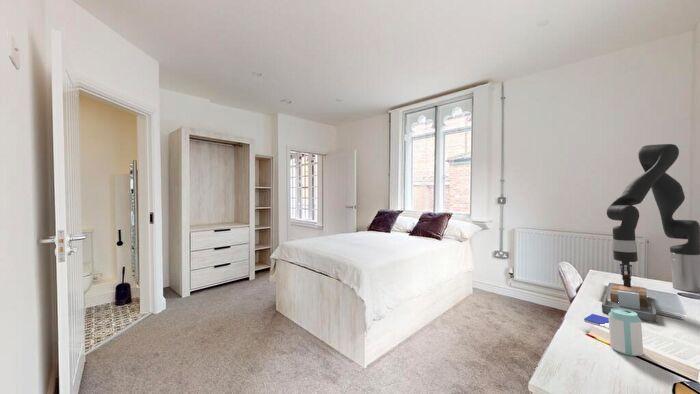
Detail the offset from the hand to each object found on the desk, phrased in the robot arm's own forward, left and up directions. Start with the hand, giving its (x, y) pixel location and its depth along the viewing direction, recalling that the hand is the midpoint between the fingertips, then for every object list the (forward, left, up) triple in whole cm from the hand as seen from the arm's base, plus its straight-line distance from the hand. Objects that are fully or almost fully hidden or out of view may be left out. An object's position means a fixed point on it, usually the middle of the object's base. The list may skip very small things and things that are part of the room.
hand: (627, 288), depth 119 cm
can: (+42, +34, -5) cm, 54 cm away
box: (+11, +10, -5) cm, 16 cm away
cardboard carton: (-2, -1, -5) cm, 6 cm away
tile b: (+7, +6, -2) cm, 10 cm away
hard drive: (+29, +18, -6) cm, 35 cm away
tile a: (+3, +3, -1) cm, 5 cm away
